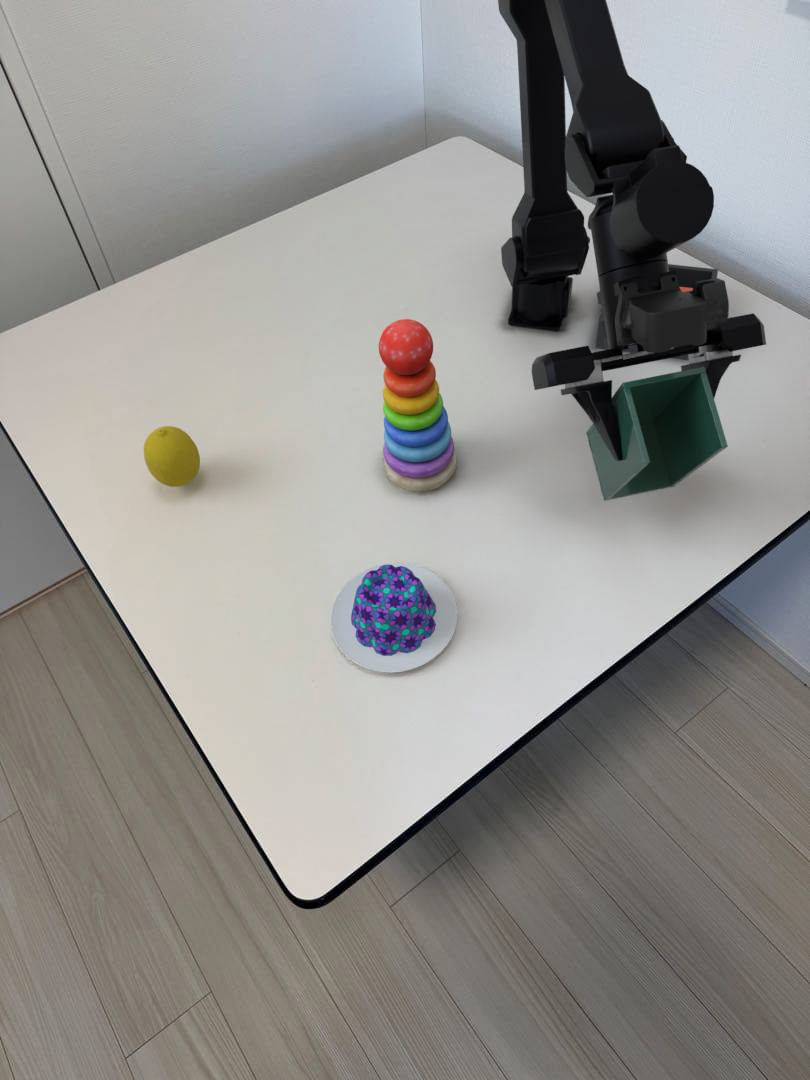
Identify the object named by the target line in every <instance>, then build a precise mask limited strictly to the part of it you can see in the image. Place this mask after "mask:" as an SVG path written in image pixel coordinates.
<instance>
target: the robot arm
mask: <svg viewBox="0 0 810 1080" xmlns="http://www.w3.org/2000/svg"><path fill="white" fill-rule="evenodd" d="M497 4H498V12H499V14H500V16H501V18H502V19H503V20H504V23H505V24H506V25H507V27H508V29H509V30H510V32H511V34H512V35H513V37H514V38H515V40H516V48H517V51H516V52H517V69H518V71H517V72H518V89H519V107H520V108H519V110H520V126H521V127H520V128H521V129H520V130H521V147H522V167H523V169H522V170H523V188H524V192H523V194H522V196H521V199H520V201H519V203H518V204H517V207H516V209H515V211H514V213H513V214H512V217H511V237H509V238H508V239H507V240H506V241H505V243H504V244H503V245H502V246H501V247H500V251H501V252H500V253H501V254H500V255H501V265H502V269H503V270H504V273H505V274H506V277H507V279H508V281H509V284H510V286H511V310H510V313H509V316H508V318H507V324H508V325H509V326H514V327H523V328H530V329H538V330H546V331H554V332H559V331H560V330H561V328H562V324H563V322H564V319H566V318H568V315H569V312H570V309H571V304H572V296H573V295H572V293H573V285H574V279H573V277H571V276H575V275H576V276H580V275H582V272H583V269H584V266H585V264H586V259H587V257H588V253H589V250H590V242H591V238H592V244H593V253H594V258H595V265H596V271H597V277H598V279H597V280H598V285H599V291H597V292H596V298H597V304H598V305H602V307H603V312H604V318H605V325H606V331H607V338H608V339H605V340H604V344H605V349H603V350H599V351H592V350H591V348H590V347H589V345H582V346H578V347H573V348H567V349H563V350H562V349H561V350H558V351H552V352H548V353H545V354H543V355H540V356H536V358H535V359H534V361H533V362H532V364H531V377H532V383H533V387H534V391H538V390H542V389H547V388H552V387H557V386H564V388H561V389H560V394H561V396H566V395H570V396H572V397H573V399H574V400H575V401H576V402H577V404H578V405H579V406H580V407H581V408H582V410H583V412H584V413H585V414H586V415H587V416H588V418H589V420H590V422H591V423H592V424H594V426H595V427H596V429H597V431H598V432H599V434H600V436H601V437H602V439H603V441H604V442H605V444H606V446H607V447H608V449H609V451H610V452H611V454H612V456H613V458H614V459H615V460H616V461H622V460H623V456H622V445H621V438H620V434H619V430H618V425H617V421H616V417H615V412H614V408H613V404H612V397H613V395H612V394H613V380H612V379H609V380H604V375H603V373H604V372H606V371H612V370H617V369H621V368H628V367H632V366H637V365H642V364H648V363H653V362H659V361H662V360H667V359H668V360H669V359H674V358H673V357H678V356H683V355H688V358H689V360H688V364H684V365H681V366H680V368H681V369H680V371H685V370H690V369H695V368H700V367H705V370H706V374H707V377H708V381H709V384H710V387H711V391H712V394H713V398H714V399H715V398H716V394H717V391H718V389H719V385H720V382H721V380H722V378H723V376H724V374H725V373H726V371H727V370H728V368H729V367H730V365H732V364H733V363H736V362H740V360H741V357H742V354H736V355H734V354H733V353H734V352H736V351H740V350H746V349H751V348H756V347H761V346H766V345H767V341H766V340H767V339H766V331H765V325H764V323H763V322H762V321H761V319H760V318H759V317H758V316H757V315H756V314H755V313H754V312H753V313H748V314H743V315H737V316H731V317H729V315H730V314H729V311H730V310H729V309H730V302H729V295H728V291H727V290H728V289H727V285H726V281H725V280H724V279H721V278H718V277H717V278H714V279H709V280H704V281H699V282H696V283H695V284H694V287H693V290H691V291H686V292H682V291H681V289H680V287H679V283H678V277H677V276H676V272H675V271H670V272H669V267H668V264H669V261H668V252H669V253H670V252H671V251H672V250H674V249H676V248H678V247H680V246H681V245H683V244H685V243H687V242H689V241H690V240H693V239H694V238H696V237H697V236H698V235H699V234H701V233H702V231H703V230H704V229H705V228H706V227H707V226H708V224H709V221H710V220H711V218H712V215H713V211H714V207H715V195H714V189H713V187H712V186H711V185H710V183H709V180H708V179H707V177H706V176H705V175H704V173H703V172H702V171H701V170H700V169H698V168H697V167H696V166H694V165H693V164H690V163H688V162H687V160H688V155H686V153H685V152H684V151H683V150H682V149H681V146H680V145H679V144H677V143H676V141H675V138H674V137H673V136H672V134H671V133H670V131H669V129H668V126H667V125H666V123H665V122H664V120H662V119H661V116H660V113H659V112H658V109H657V107H656V103H655V101H654V99H653V97H652V94H651V91H650V90H649V89H647V88H646V87H645V86H644V85H642V84H641V83H639V82H638V81H637V80H636V79H634V78H633V77H631V76H630V75H629V73H628V70H627V68H626V65H625V62H624V59H623V56H622V52H621V48H620V44H619V41H618V38H617V34H616V31H615V27H614V24H613V20H612V17H611V13H610V10H609V6H608V3H607V0H497ZM565 85H566V86H565ZM566 87H567V91H568V94H569V98H570V103H571V107H572V108H571V109H572V115H571V117H570V118H571V119H570V122H569V126H568V129H566V128H567V127H566V126H567V125H566V124H567V123H566ZM568 178H569V180H570V181H571V183H573V184H574V186H575V187H576V188H577V189H578V191H579V192H581V193H582V194H583V195H584V196H585V198H591V197H597V196H599V197H597V198H596V200H595V201H596V202H595V204H594V205H595V206H594V208H593V210H592V211H591V213H590V214H589V216H588V218H587V219H588V220H587V228H588V230H590V233H591V238H590V236H589V235H588V232H587V229H586V227H585V215H584V214H583V212H582V210H581V209H579V207H578V206H577V204H576V203H575V201H574V200H573V199H572V197H571V195H570V194H569V192H568ZM607 194H609V195H607ZM601 195H602V196H601ZM635 345H636V347H637V352H635V353H633V352H629V353H625V354H623V353H624V352H623V351H622V350H626V349H629V348H628V347H630V346H635ZM652 353H653V354H652Z"/></svg>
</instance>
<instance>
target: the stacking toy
mask: <svg viewBox="0 0 810 1080" xmlns="http://www.w3.org/2000/svg"><path fill="white" fill-rule="evenodd" d="M433 352H434V341H433V337H432V335H431V332H430V331H429V329H428V328H427V327H426V326H425V325H424V324H422V323H421V322H420V321H417V320H414V319H410V318H402V319H397V320H395V321H393V322H391V323H390V324H388V325H387V326H386V327H385V329H383V331H382V332H381V334H380V337H379V341H378V353H379V357H380V359H381V361H382V363H383V364H384V365H385V368H384V370H383V382H384V386H383V390H382V396H383V405H382V411H383V414H384V417H383V427H384V430H383V440H384V443H383V449H382V451H383V453H382V454H383V469H384V472H385V475H386V476H387V478H388V480H390V481H391V482H392V483H393V484H394V485H395V486H398V487H399V488H401V489H403V490H406V491H409V492H410V491H411V492H419V493H420V492H428V491H432V490H435V489H437V488H440V487H441V486H442V485H444V484H446V483H447V482H448V481H449V480H450V479H451V478H452V476H453V475H454V474H455V472H456V470H457V466H458V453H457V450H456V448H455V442H454V439H453V437H452V427H451V425H450V422H449V415H448V411H447V410H446V407H445V406H444V400H443V397H442V395H441V393H440V386H439V383H438V381H437V379H436V377H437V370H436V367H435V365H434V364H433V362H432V361H431V359H432V358H433V357H432V356H433Z"/></svg>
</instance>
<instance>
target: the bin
mask: <svg viewBox="0 0 810 1080" xmlns="http://www.w3.org/2000/svg"><path fill="white" fill-rule="evenodd" d="M668 267H669V272H670V271H675V272H676V276H677V277H678V283H679V287H687V288H693V287H694V284H695V283H696V282H699V281H704V280H709V279H714V278H718V272H719V268H710V267H709V268H708V267H700V266H692V265H691V266H689V265H682V264H681V265H680V264H671V263H668ZM605 339H608V338H607V331H606V325H605V318H604V312H603V306H602V307H601V310H600V315H599V319H598V325H597V332H596V340H595V348H596V349H603V350H605V344H604V340H605ZM628 348H629V349H626V350H622V352H627V353H635V352H637V347H636V345H635V346H630V347H628ZM652 354H653V353H652ZM672 359H678V360H679V359H680V360H686V361H689V358H688V355H683V356H678V357H673V358H672Z"/></svg>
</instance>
